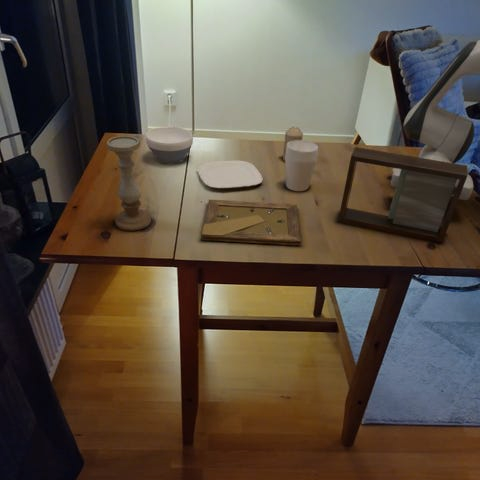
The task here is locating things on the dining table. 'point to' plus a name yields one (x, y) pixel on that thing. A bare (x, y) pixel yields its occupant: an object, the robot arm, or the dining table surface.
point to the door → (397, 193)
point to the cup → (300, 164)
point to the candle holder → (128, 185)
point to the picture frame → (251, 222)
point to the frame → (410, 195)
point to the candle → (292, 137)
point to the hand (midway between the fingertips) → (429, 195)
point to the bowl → (169, 143)
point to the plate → (229, 174)
